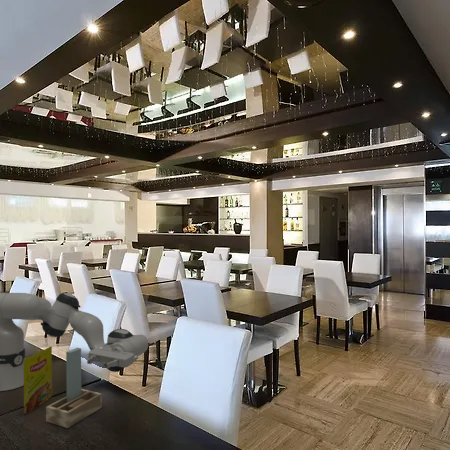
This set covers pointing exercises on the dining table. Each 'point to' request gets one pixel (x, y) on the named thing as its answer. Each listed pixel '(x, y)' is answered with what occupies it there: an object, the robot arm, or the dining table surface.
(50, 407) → the slot rack
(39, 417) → the dining table surface
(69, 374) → the blue-grey rectangular bar
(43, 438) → the dining table surface
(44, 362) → the food package
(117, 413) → the dining table surface
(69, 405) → the upper offcut
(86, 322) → the robot arm
